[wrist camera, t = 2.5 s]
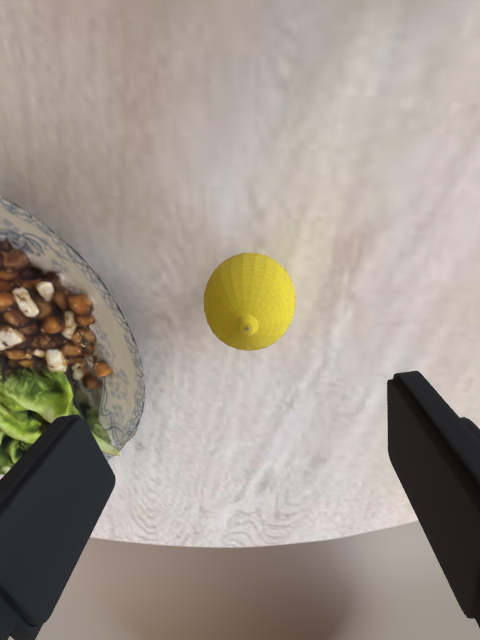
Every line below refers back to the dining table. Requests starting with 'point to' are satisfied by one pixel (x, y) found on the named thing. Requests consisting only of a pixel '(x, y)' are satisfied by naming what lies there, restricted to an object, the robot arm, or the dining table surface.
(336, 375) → the dining table surface
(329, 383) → the dining table surface
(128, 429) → the plate of food
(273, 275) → the lemon
